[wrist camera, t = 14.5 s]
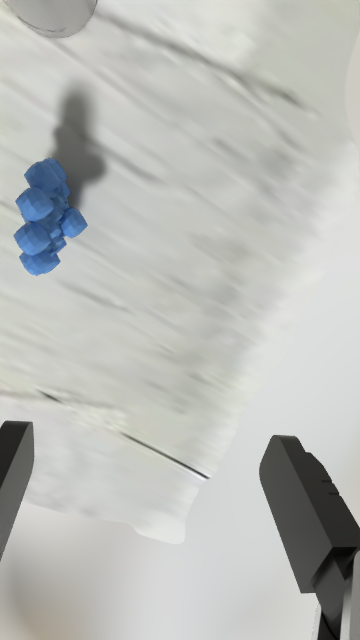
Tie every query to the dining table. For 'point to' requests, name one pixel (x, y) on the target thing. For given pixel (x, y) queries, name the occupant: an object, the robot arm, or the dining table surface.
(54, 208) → the grapes
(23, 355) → the dining table surface
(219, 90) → the dining table surface
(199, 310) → the dining table surface
